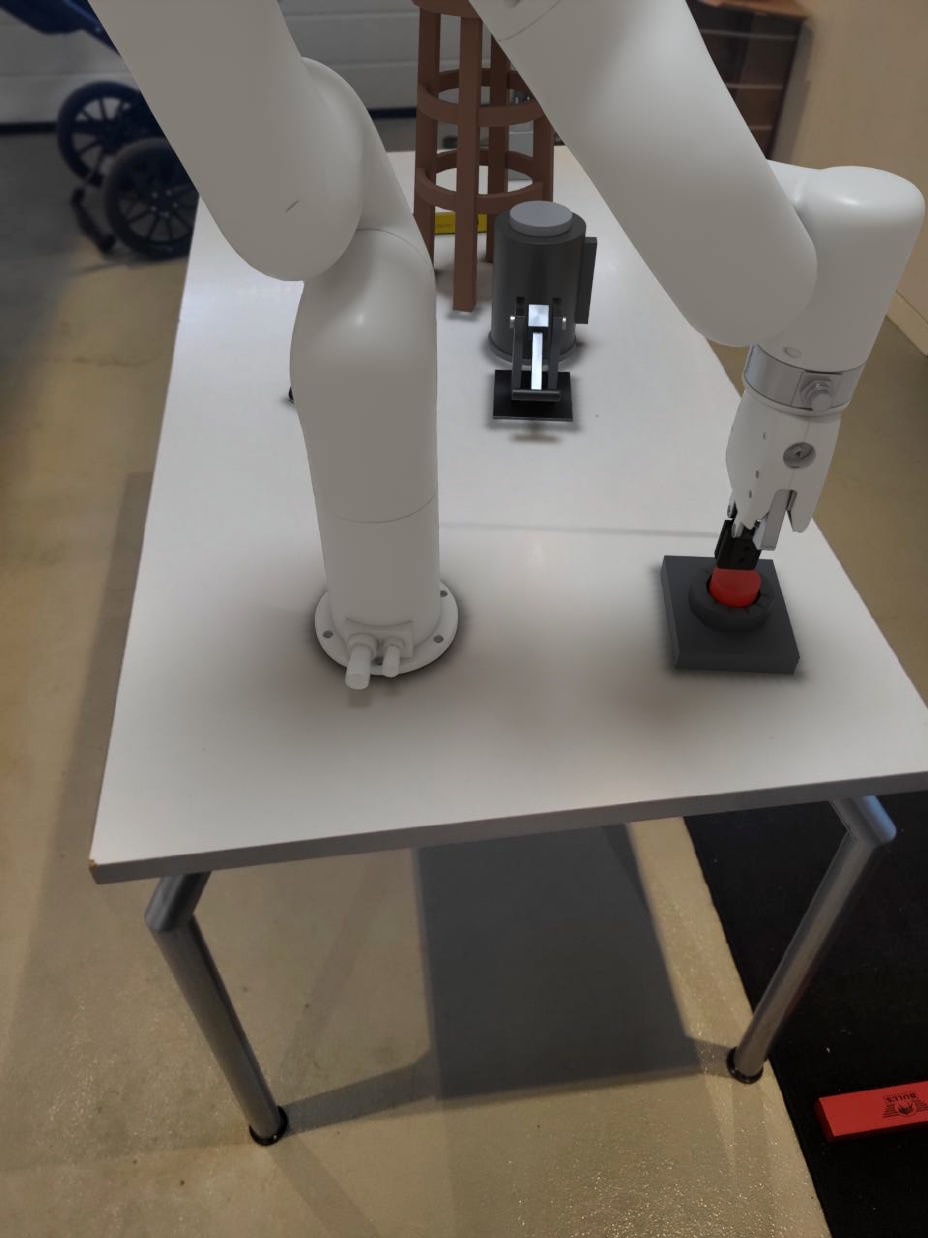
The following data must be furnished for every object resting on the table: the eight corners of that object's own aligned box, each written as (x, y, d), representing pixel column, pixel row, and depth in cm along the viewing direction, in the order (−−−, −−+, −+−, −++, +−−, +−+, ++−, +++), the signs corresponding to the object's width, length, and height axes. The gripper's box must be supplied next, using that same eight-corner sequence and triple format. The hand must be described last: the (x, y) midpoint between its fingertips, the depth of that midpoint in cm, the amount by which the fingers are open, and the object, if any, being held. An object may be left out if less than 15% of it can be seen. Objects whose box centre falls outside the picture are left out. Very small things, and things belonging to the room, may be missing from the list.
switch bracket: (572, 428, 99) (583, 331, 91) (492, 425, 100) (495, 328, 91) (569, 380, 106) (579, 286, 98) (494, 377, 106) (497, 283, 98)
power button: (759, 609, 75) (764, 594, 74) (712, 607, 75) (716, 593, 74) (751, 576, 78) (756, 562, 76) (705, 575, 78) (710, 560, 77)
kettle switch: (558, 406, 94) (560, 393, 91) (511, 404, 94) (512, 392, 91) (560, 319, 97) (562, 305, 95) (514, 317, 97) (515, 303, 95)
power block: (793, 674, 75) (806, 642, 72) (674, 669, 75) (683, 637, 72) (766, 576, 83) (778, 544, 80) (660, 571, 83) (667, 540, 80)
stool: (430, -45, 106) (591, -33, 102) (434, 245, 131) (563, 263, 128) (374, -8, 93) (557, 7, 89) (391, 307, 118) (534, 328, 115)
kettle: (586, 374, 107) (603, 235, 95) (486, 370, 107) (490, 232, 95) (581, 321, 116) (596, 188, 104) (489, 318, 116) (493, 185, 104)
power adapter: (535, 178, 149) (541, 99, 141) (504, 179, 149) (507, 100, 140) (533, 171, 151) (537, 93, 143) (501, 172, 151) (504, 94, 142)
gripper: (887, 434, 55) (796, 631, 69) (831, 317, 66) (761, 509, 79) (768, 427, 56) (700, 625, 69) (730, 311, 66) (678, 504, 79)
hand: (733, 562), depth 74 cm, fingers closed
